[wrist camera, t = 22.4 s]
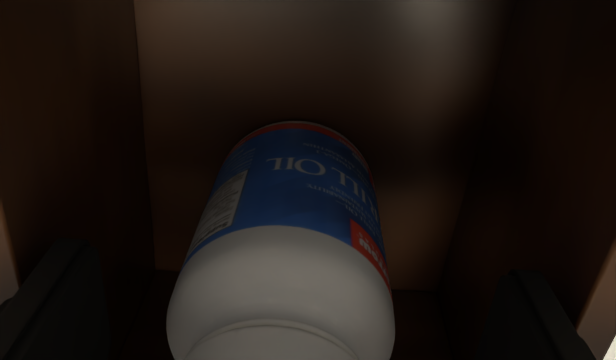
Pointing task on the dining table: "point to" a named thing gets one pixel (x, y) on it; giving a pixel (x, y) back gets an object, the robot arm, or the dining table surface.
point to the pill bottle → (286, 256)
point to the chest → (330, 113)
